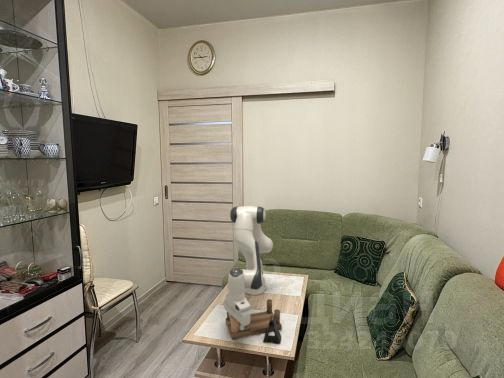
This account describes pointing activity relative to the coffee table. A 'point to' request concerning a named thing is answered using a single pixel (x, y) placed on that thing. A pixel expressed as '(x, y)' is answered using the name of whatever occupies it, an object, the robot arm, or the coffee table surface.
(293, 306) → the coffee table surface
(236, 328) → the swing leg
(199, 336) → the coffee table surface
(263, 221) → the robot arm
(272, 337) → the phone stand
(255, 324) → the stool base
